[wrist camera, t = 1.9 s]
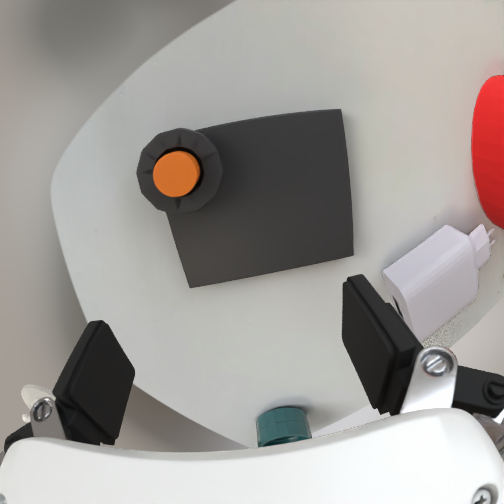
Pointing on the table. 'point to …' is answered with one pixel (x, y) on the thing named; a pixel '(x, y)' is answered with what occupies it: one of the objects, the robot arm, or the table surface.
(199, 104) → the table surface
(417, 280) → the charger
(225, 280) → the dark grey flat slab
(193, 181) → the button
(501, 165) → the toy clock
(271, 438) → the bowl
